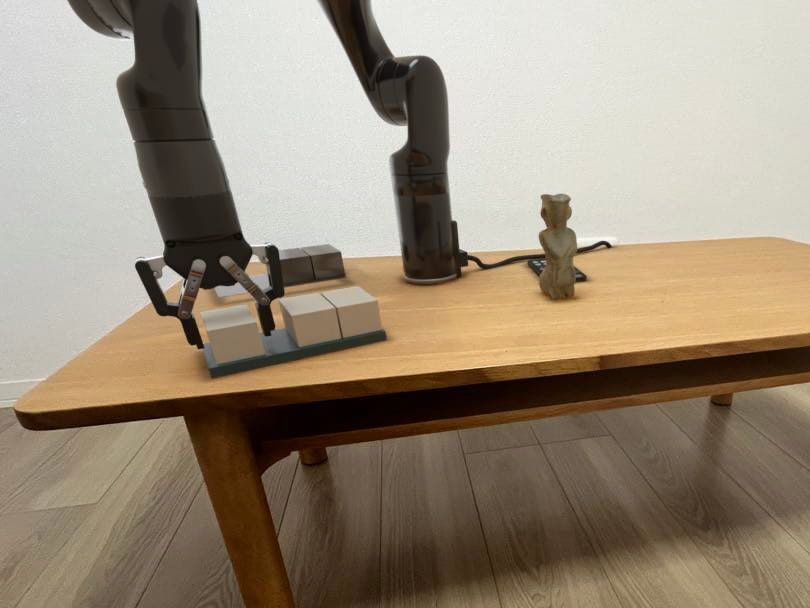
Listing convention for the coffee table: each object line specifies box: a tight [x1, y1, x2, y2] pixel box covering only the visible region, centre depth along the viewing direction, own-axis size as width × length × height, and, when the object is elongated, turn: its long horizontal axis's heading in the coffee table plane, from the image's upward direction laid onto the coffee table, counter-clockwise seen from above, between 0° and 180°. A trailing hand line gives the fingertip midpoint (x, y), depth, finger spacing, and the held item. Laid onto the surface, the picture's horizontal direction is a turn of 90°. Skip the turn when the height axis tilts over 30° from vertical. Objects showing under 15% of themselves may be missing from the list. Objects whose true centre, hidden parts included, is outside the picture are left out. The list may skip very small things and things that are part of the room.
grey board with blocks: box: [214, 243, 349, 299], centre depth 92 cm, size 20×12×5 cm, turn 124°
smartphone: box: [526, 259, 588, 282], centre depth 98 cm, size 7×1×15 cm
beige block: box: [199, 304, 265, 365], centre depth 63 cm, size 5×8×4 cm, turn 34°
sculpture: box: [538, 193, 578, 300], centre depth 82 cm, size 6×7×15 cm
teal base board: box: [202, 285, 388, 379], centre depth 66 cm, size 20×9×5 cm, turn 124°
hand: (235, 340), depth 63 cm, fingers open, 6 cm apart
